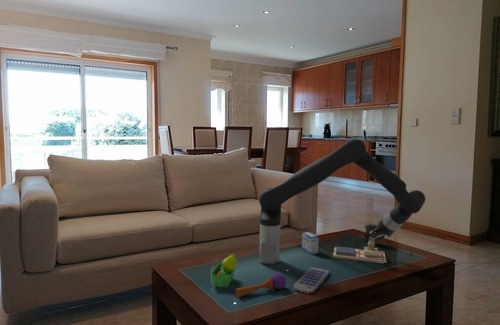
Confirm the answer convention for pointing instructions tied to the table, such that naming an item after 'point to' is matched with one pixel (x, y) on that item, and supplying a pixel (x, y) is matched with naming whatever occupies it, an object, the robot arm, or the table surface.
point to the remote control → (311, 280)
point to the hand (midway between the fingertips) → (371, 240)
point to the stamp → (371, 249)
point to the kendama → (264, 285)
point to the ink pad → (345, 251)
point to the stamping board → (362, 256)
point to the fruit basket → (224, 272)
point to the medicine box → (310, 243)
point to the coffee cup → (373, 229)
